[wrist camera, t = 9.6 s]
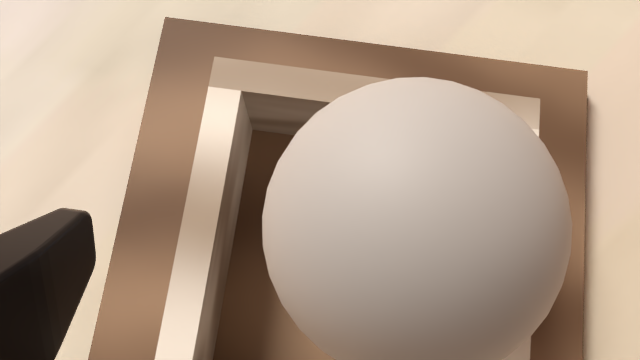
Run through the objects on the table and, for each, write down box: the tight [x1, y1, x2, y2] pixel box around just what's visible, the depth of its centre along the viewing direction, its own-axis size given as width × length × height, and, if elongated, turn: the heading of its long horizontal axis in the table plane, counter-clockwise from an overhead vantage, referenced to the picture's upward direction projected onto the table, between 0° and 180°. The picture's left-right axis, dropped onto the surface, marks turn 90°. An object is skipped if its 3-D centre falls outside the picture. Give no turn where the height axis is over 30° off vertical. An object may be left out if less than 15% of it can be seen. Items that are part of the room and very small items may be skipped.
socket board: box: [88, 17, 588, 360], centre depth 19 cm, size 16×16×4 cm
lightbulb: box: [262, 77, 572, 360], centre depth 14 cm, size 6×6×11 cm
